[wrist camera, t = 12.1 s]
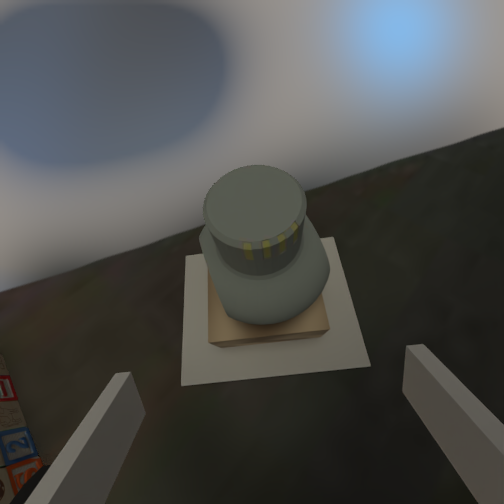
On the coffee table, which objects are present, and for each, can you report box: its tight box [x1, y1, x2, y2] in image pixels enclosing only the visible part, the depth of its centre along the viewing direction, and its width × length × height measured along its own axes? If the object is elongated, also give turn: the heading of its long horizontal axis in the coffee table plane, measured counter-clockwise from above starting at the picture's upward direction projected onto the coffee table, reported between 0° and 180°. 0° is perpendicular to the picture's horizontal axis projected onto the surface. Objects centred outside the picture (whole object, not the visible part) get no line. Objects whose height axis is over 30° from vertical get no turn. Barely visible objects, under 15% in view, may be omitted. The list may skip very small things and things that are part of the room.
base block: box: [208, 270, 330, 348], centre depth 24 cm, size 10×12×5 cm
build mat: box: [181, 237, 371, 386], centre depth 26 cm, size 18×14×1 cm
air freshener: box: [199, 165, 330, 325], centre depth 18 cm, size 11×8×10 cm
